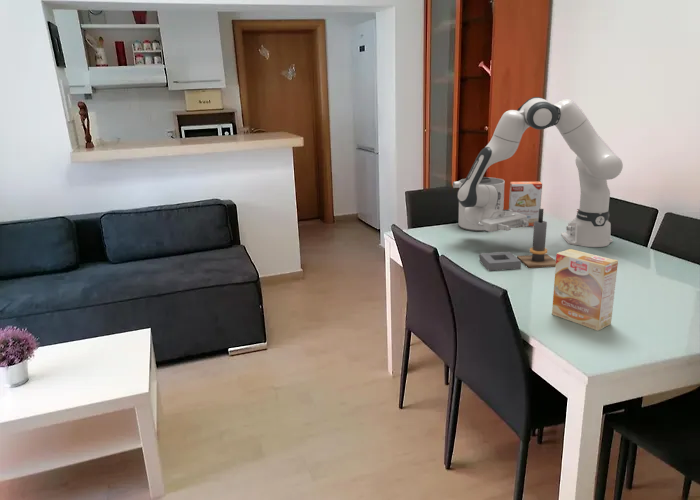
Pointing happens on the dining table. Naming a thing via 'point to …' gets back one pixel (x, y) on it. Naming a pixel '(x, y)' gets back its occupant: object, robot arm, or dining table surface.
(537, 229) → the plug
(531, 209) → the cracker box
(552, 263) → the pad
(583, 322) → the coffeecake box
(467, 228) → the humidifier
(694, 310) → the dining table surface
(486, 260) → the socket block
